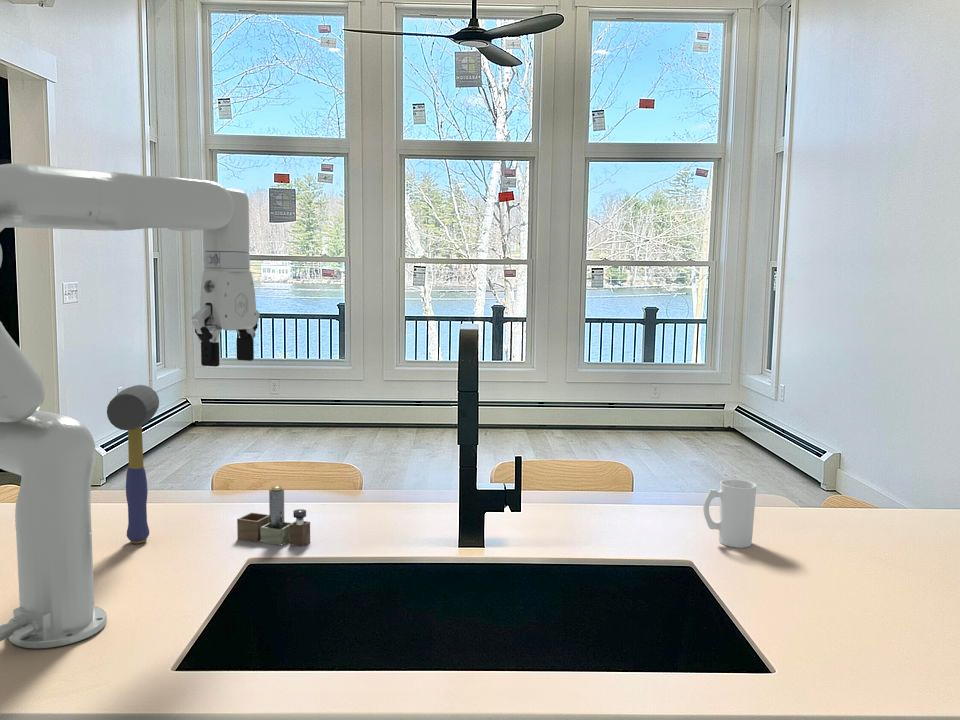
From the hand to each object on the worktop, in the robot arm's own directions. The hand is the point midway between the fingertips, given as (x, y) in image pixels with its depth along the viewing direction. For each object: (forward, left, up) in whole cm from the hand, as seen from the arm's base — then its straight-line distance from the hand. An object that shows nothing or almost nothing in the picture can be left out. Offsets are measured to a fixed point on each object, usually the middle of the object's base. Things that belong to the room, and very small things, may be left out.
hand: (228, 362), depth 137 cm
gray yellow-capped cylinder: (+14, 0, -36) cm, 39 cm away
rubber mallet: (+4, +24, -36) cm, 44 cm away
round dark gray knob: (+15, -5, -36) cm, 39 cm away
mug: (+45, -83, -36) cm, 101 cm away
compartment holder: (+15, 0, -36) cm, 39 cm away
